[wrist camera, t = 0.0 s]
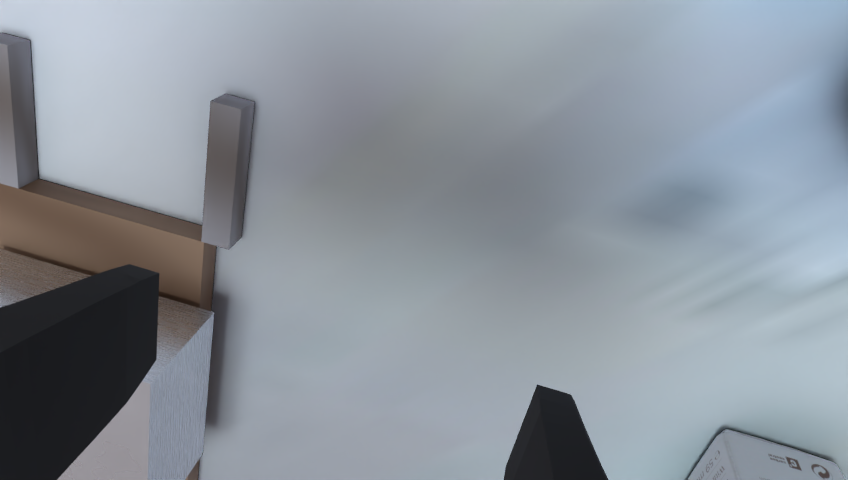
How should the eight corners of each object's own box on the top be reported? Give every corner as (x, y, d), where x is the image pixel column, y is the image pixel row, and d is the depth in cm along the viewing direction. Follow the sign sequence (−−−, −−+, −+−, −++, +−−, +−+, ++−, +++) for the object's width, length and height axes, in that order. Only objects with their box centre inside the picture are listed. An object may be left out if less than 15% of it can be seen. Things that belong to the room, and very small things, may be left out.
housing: (202, 453, 26) (146, 537, 23) (11, 393, 27) (-74, 466, 23) (214, 312, 23) (150, 383, 20) (-4, 247, 24) (-105, 305, 20)
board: (209, 562, 31) (176, 620, 29) (-74, 470, 32) (-130, 519, 30) (254, 101, 21) (210, 127, 18) (-166, -13, 22) (-265, -5, 19)
